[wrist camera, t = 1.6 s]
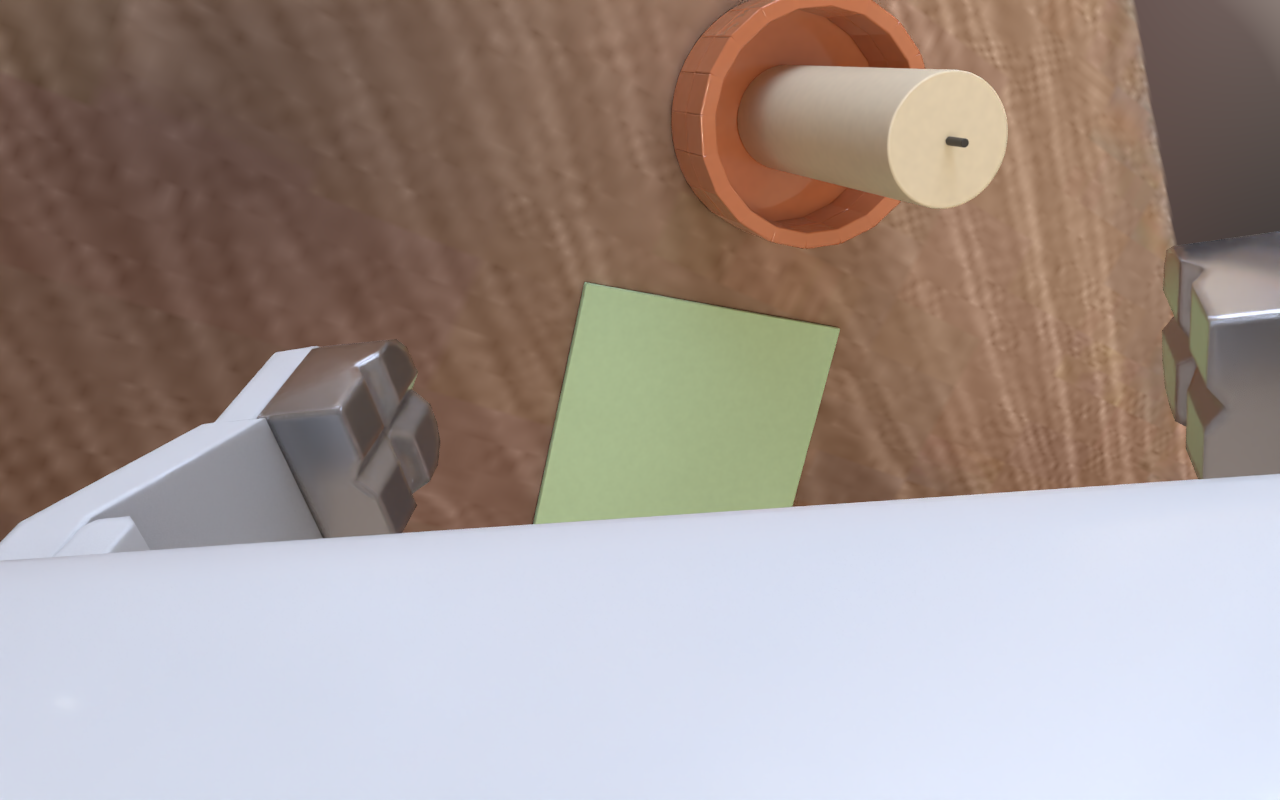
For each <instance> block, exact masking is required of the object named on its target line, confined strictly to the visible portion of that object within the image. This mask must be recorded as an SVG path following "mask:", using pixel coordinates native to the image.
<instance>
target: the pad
mask: <svg viewBox="0 0 1280 800" xmlns="http://www.w3.org/2000/svg"><path fill="white" fill-rule="evenodd" d="M839 332H840V329H839V328H837V327H833V326H827V325H821V324H816V323H810V322H805V321H799V320H794V319H788V318H782V317H777V316H771V315H766V314H760V313H755V312H749V311H743V310H738V309H732V308H727V307H721V306H715V305H710V304H704V303H699V302H693V301H688V300H682V299H676V298H671V297H665V296H660V295H654V294H648V293H643V292H637V291H632V290H626V289H621V288H615V287H609V286H604V285H598V284H593V283H587V282H585V283H584V287H583V292H582V296H581V301H580V306H579V310H578V315H577V320H576V325H575V329H574V334H573V339H572V343H571V348H570V353H569V357H568V362H567V367H566V372H565V376H564V381H563V386H562V390H561V395H560V400H559V404H558V409H557V414H556V418H555V423H554V428H553V433H552V437H551V442H550V447H549V451H548V456H547V461H546V465H545V470H544V475H543V480H542V484H541V489H540V494H539V498H538V503H537V508H536V512H535V517H534V522H533V524H546V523H561V522H576V521H591V520H606V519H621V518H636V517H651V516H666V515H680V514H695V513H710V512H725V511H740V510H755V509H770V508H785V507H792V506H793V502H794V498H795V494H796V491H797V487H798V483H799V480H800V476H801V472H802V468H803V465H804V461H805V457H806V454H807V450H808V446H809V443H810V439H811V435H812V431H813V428H814V424H815V420H816V417H817V413H818V409H819V406H820V402H821V398H822V394H823V391H824V387H825V383H826V380H827V376H828V372H829V369H830V365H831V361H832V357H833V354H834V350H835V346H836V343H837V339H838V335H839Z"/></svg>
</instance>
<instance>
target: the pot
mask: <svg viewBox="0 0 1280 800" xmlns="http://www.w3.org/2000/svg"><path fill="white" fill-rule="evenodd" d="M779 65H809V66H842V67H875V68H909V69H925V66H924V63H923V59H922V56H921V53H920V51H919V50H918V48H917V47H916V45H915V44H914V42H913V41H912V39H911V38H910V36H909V35H908V33H907V32H906V30H905V29H904V27H903V26H902V24H901V23H900V22H899V21H898V19H896V18H895V17H894V16H892V15H891V14H890V13H888V12H887V11H886V10H884V9H883V8H882V7H880V6H879V5H878V4H876V3H875V2H874V1H872V0H750V1H747V2H745V3H742V4H740V5H738V6H737V7H735V8H733V9H731V10H729V11H728V12H726V13H725V14H724V15H723V16H721V17H720V18H719V19H718V20H716V21H715V22H714V23H713V24H712V25H711V26H710V27H709V28H708V29H707V30H706V31H705V32H704V33H703V34H702V36H701V37H700V38H699V40H698V41H697V42H696V44H695V45H694V46H693V48H692V50H691V52H690V53H689V55H688V57H687V59H686V60H685V63H684V65H683V67H682V70H681V72H680V74H679V78H678V81H677V84H676V88H675V92H674V98H673V104H672V120H671V125H672V137H673V143H674V148H675V153H676V156H677V159H678V162H679V165H680V168H681V171H682V173H683V175H684V177H685V179H686V181H687V183H688V184H689V186H690V187H691V189H692V190H693V192H694V193H695V195H696V196H697V197H698V198H699V199H700V200H701V201H702V203H703V204H704V205H705V206H706V207H707V208H708V209H709V210H710V211H712V213H714V214H715V215H717V216H718V217H720V218H722V219H723V220H725V221H726V222H728V223H730V224H732V225H733V226H735V227H737V228H738V229H740V230H743V231H745V232H747V233H750V234H752V235H755V236H757V237H760V238H762V239H765V240H767V241H770V242H773V243H778V244H782V245H787V246H792V247H797V248H802V249H804V248H806V249H809V248H816V247H823V246H830V245H837V244H840V243H843V242H845V241H847V240H849V239H851V238H853V237H855V236H857V235H859V234H861V233H863V232H865V231H867V230H869V229H871V228H872V227H875V226H876V225H877V224H878V223H879V222H880V221H881V220H882V219H883V218H884V217H885V216H886V215H887V214H888V213H889V212H890V211H891V210H893V209H894V208H895V207H896V206H897V205H898V204H899V203H900V200H896V199H892V198H888V197H884V196H880V195H876V194H872V193H868V192H864V191H860V190H856V189H852V188H848V187H844V186H840V185H836V184H832V183H828V182H824V181H820V180H816V179H812V178H808V177H804V176H800V175H796V174H792V173H788V172H784V171H780V170H776V169H772V168H769V167H766V166H764V165H762V164H760V163H759V162H757V161H756V160H755V159H754V158H753V157H751V155H750V154H749V153H748V152H747V150H746V149H745V147H744V145H743V143H742V141H741V138H740V135H739V130H738V121H737V120H738V110H739V105H740V102H741V99H742V97H743V94H744V92H745V91H746V89H747V87H748V86H749V85H750V83H751V82H752V81H753V80H754V79H755V78H756V77H757V76H758V75H760V74H761V73H762V72H764V71H766V70H768V69H770V68H772V67H776V66H779Z"/></svg>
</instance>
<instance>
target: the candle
mask: <svg viewBox="0 0 1280 800" xmlns="http://www.w3.org/2000/svg"><path fill="white" fill-rule="evenodd" d="M737 121H738V130H739V135H740V138H741V141H742V143H743V145H744V147H745V149H746V150H747V152H748V153H749V154H750V155H751V157H753V158H754V159H755V160H756V161H757V162H759V163H760V164H762V165H764V166H766V167H769V168H772V169H776V170H780V171H784V172H788V173H792V174H796V175H800V176H804V177H808V178H812V179H816V180H820V181H824V182H828V183H832V184H836V185H840V186H844V187H848V188H852V189H856V190H860V191H864V192H868V193H872V194H876V195H880V196H884V197H888V198H892V199H896V200H900V201H904V202H908V203H912V204H916V205H920V206H924V207H928V208H933V209H947V208H953V207H956V206H959V205H962V204H964V203H966V202H968V201H970V200H971V199H973V198H974V197H976V196H977V195H978V194H979V193H981V192H982V191H983V190H984V189H985V188H986V187H987V186H988V185H989V183H990V182H991V181H992V179H993V178H994V176H995V175H996V173H997V171H998V169H999V167H1000V165H1001V163H1002V160H1003V158H1004V155H1005V150H1006V146H1007V138H1008V126H1007V118H1006V114H1005V110H1004V107H1003V104H1002V102H1001V100H1000V98H999V96H998V95H997V93H996V92H995V91H994V89H993V88H992V87H991V86H990V85H989V84H988V83H987V82H986V81H985V80H983V79H982V78H980V77H979V76H977V75H975V74H973V73H970V72H967V71H962V70H942V69H909V68H875V67H842V66H809V65H779V66H776V67H772V68H770V69H768V70H766V71H764V72H762V73H761V74H760V75H758V76H757V77H756V78H755V79H754V80H753V81H752V82H751V83H750V85H749V86H748V87H747V89H746V91H745V92H744V94H743V97H742V99H741V102H740V105H739V110H738V120H737Z"/></svg>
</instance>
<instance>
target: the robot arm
mask: <svg viewBox="0 0 1280 800" xmlns="http://www.w3.org/2000/svg"><path fill="white" fill-rule="evenodd" d="M1163 291H1164V293H1165V296H1166V298H1167V300H1168V303H1169V305H1170V307H1171V310H1172V312H1173V314H1174V317H1173V318H1172V319H1171V320H1170V322H1169V323H1168V324H1167V325H1166V326H1165V328H1164V329H1163V330H1162V361H1163V371H1164V381H1165V389H1166V393H1167V397H1168V401H1169V405H1170V408H1171V411H1172V414H1173V416H1174V419H1175V421H1176V422H1178V423H1180V424H1182V425H1184V426H1186V450H1187V452H1188V455H1189V457H1190V460H1191V462H1192V465H1193V467H1194V470H1195V472H1196V475H1197V477H1198V479H1196V480H1181V481H1167V482H1152V483H1137V484H1123V485H1108V486H1094V487H1079V488H1064V489H1050V490H1035V491H1020V492H1006V493H991V494H976V495H962V496H947V497H932V498H918V499H903V500H888V501H874V502H859V503H844V504H829V505H815V506H800V507H785V508H770V509H755V510H740V511H725V512H710V513H695V514H680V515H666V516H651V517H636V518H621V519H606V520H591V521H576V522H561V523H546V524H531V525H517V526H502V527H487V528H472V529H457V530H442V531H427V532H412V533H402V532H403V530H404V528H405V526H406V525H407V523H408V521H409V519H410V517H411V515H412V514H413V512H414V510H415V508H416V506H417V505H416V503H415V500H414V498H413V495H412V494H413V493H414V492H415V491H417V490H418V489H420V488H421V487H422V486H424V485H425V484H427V483H428V482H429V481H430V480H431V478H432V476H433V474H434V472H435V470H436V468H437V466H438V458H439V449H440V438H439V432H438V426H437V421H436V419H435V416H434V413H433V411H432V408H431V405H430V404H429V403H428V402H427V401H426V400H424V399H423V398H422V397H421V396H419V395H418V394H417V393H416V392H414V391H413V390H412V388H413V385H414V382H415V379H416V376H417V373H418V371H417V369H416V367H415V364H414V362H413V360H412V357H411V355H410V353H409V350H408V348H407V347H406V346H405V345H403V344H402V343H401V342H399V341H398V340H397V339H393V340H382V341H372V342H362V343H352V344H342V345H332V346H323V347H318V346H313V347H307V348H301V349H295V350H288V351H282V352H276V353H274V354H273V355H272V357H271V358H270V359H269V360H268V361H267V362H266V364H265V365H264V366H263V367H262V368H261V369H260V370H259V372H258V373H257V374H256V375H255V376H254V377H253V378H252V380H251V381H250V382H249V383H248V384H247V385H246V387H245V388H244V389H243V390H242V391H241V392H240V393H239V395H238V396H237V397H236V398H235V399H234V400H233V402H232V403H231V404H230V405H229V406H228V407H227V408H226V410H225V411H224V412H223V413H222V414H221V415H220V417H219V418H218V419H217V420H216V421H215V422H214V423H209V424H202V425H200V426H198V427H196V428H195V429H193V430H191V431H189V432H187V433H185V434H183V435H182V436H180V437H178V438H176V439H174V440H172V441H170V442H169V443H167V444H165V445H163V446H161V447H159V448H157V449H155V450H154V451H152V452H150V453H148V454H146V455H144V456H142V457H141V458H139V459H137V460H135V461H133V462H131V463H129V464H128V465H126V466H124V467H122V468H120V469H118V470H116V471H115V472H113V473H111V474H109V475H107V476H105V477H103V478H102V479H100V480H98V481H96V482H94V483H92V484H90V485H88V486H87V487H85V488H83V489H81V490H79V491H77V492H75V493H74V494H72V495H70V496H68V497H66V498H64V499H62V500H61V501H59V502H57V503H55V504H53V505H51V506H49V507H48V508H46V509H44V510H42V511H40V512H38V513H36V514H34V515H33V516H31V517H29V518H27V519H25V520H23V521H21V522H20V523H19V524H18V525H17V526H16V527H15V528H14V529H13V530H12V531H11V532H10V533H9V534H8V535H7V536H6V537H5V538H4V539H3V540H2V541H1V542H0V800H1280V231H1279V232H1271V233H1264V234H1257V235H1250V236H1243V237H1236V238H1228V239H1221V240H1215V241H1207V242H1200V243H1193V244H1186V245H1179V246H1172V247H1171V248H1169V249H1168V250H1166V257H1165V263H1164V280H1163Z"/></svg>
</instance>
